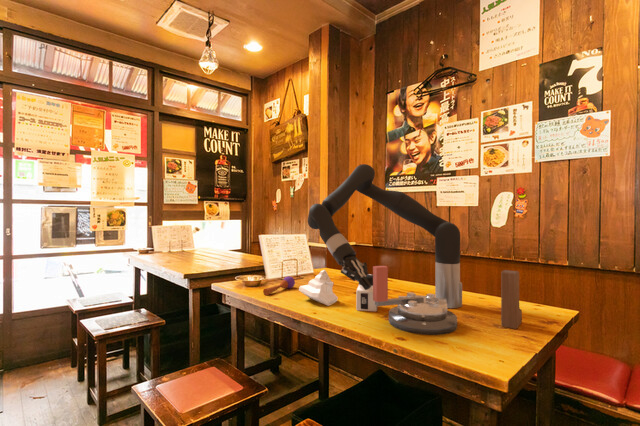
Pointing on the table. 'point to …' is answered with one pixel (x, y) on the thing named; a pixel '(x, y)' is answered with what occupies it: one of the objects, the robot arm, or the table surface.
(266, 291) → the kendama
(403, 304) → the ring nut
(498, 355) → the table surface
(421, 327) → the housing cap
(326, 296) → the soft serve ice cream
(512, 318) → the wooden block
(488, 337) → the table surface
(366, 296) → the container
